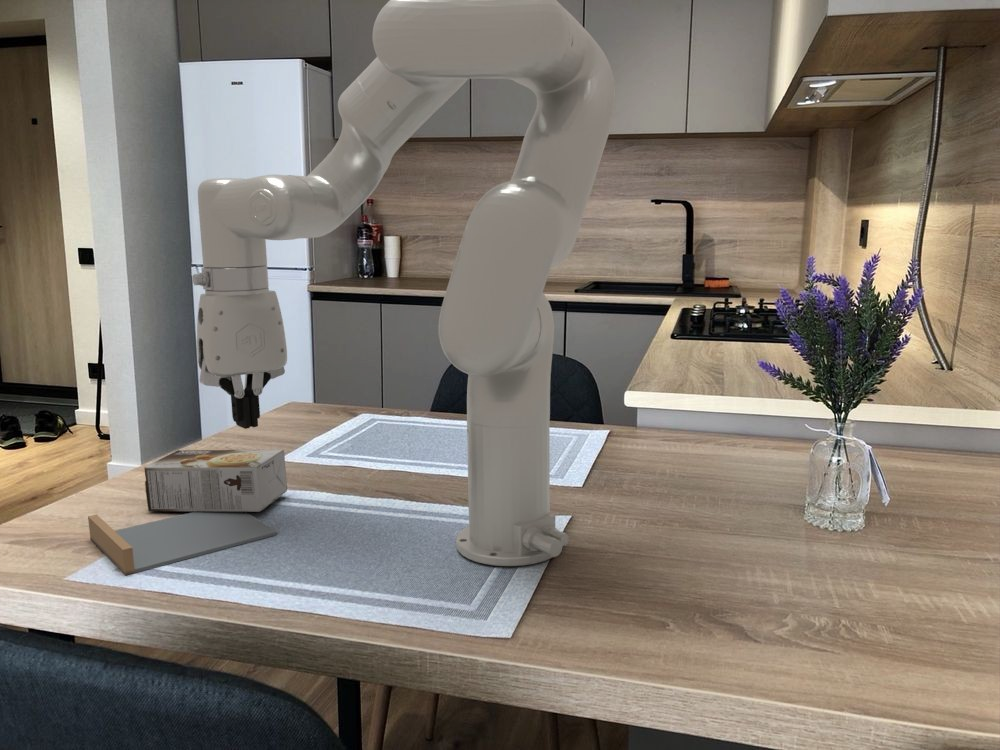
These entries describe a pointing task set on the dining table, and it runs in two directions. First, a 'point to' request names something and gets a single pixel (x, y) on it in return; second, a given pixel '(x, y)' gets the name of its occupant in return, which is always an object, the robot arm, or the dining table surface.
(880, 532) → the dining table surface
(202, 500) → the food box
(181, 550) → the board
